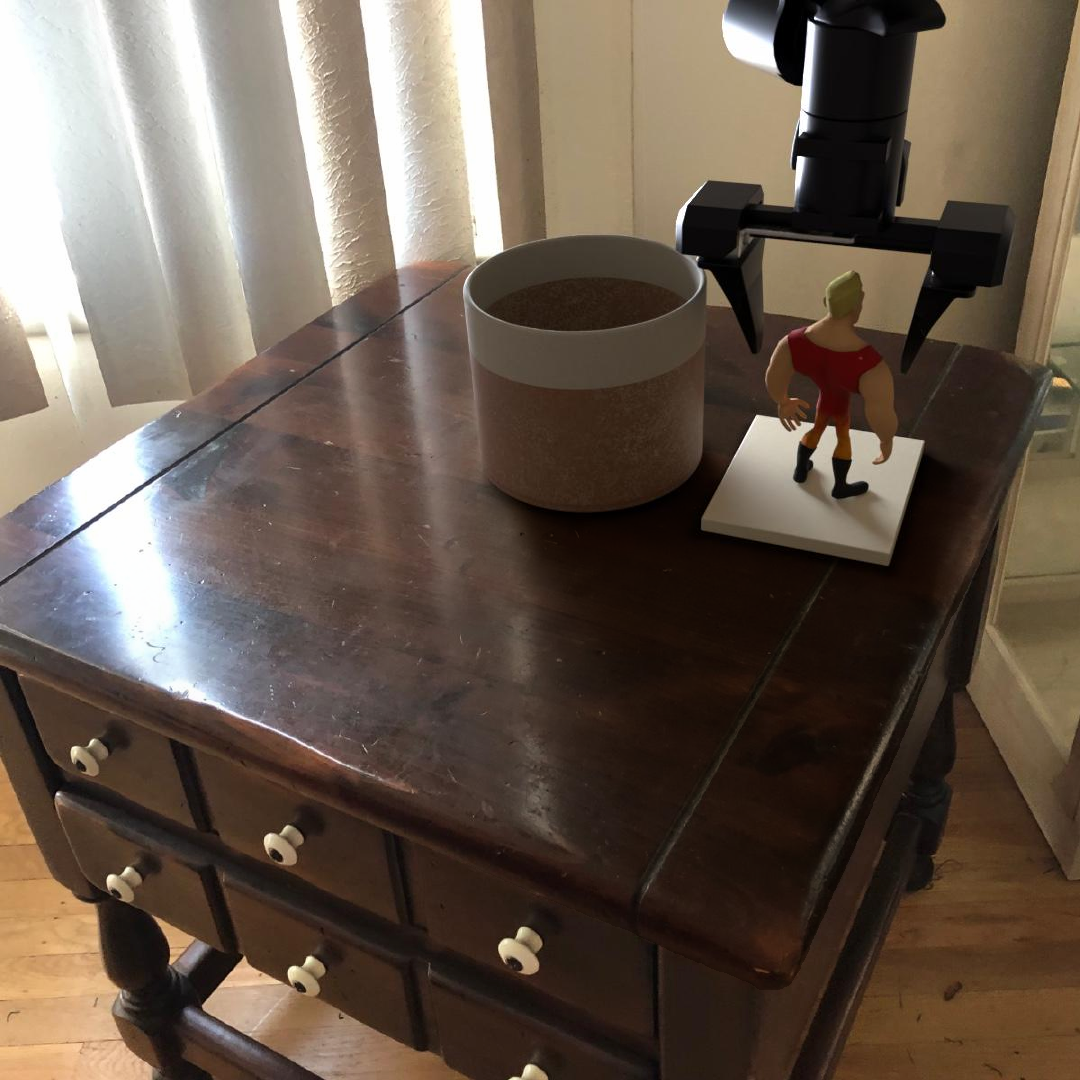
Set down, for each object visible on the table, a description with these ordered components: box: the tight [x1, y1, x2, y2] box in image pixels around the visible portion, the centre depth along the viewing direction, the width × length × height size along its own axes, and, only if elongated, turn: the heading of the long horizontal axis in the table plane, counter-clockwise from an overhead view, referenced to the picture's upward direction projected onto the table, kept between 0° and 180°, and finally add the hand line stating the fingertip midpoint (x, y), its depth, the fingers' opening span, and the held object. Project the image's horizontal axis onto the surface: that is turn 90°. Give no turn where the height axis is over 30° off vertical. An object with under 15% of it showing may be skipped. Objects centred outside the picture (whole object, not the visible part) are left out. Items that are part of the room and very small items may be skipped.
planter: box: [462, 233, 708, 514], centre depth 79 cm, size 16×16×14 cm
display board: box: [700, 414, 926, 567], centre depth 78 cm, size 12×14×1 cm
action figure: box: [765, 270, 899, 499], centre depth 73 cm, size 10×4×15 cm, turn 45°
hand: (828, 361), depth 72 cm, fingers open, 9 cm apart
